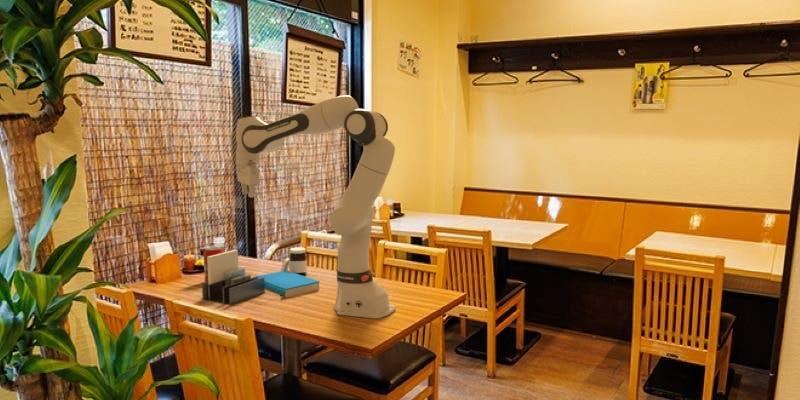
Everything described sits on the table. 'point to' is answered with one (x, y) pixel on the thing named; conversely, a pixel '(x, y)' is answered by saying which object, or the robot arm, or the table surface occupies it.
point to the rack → (234, 288)
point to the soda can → (210, 252)
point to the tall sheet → (221, 265)
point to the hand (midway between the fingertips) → (247, 195)
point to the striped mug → (296, 261)
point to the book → (289, 283)
